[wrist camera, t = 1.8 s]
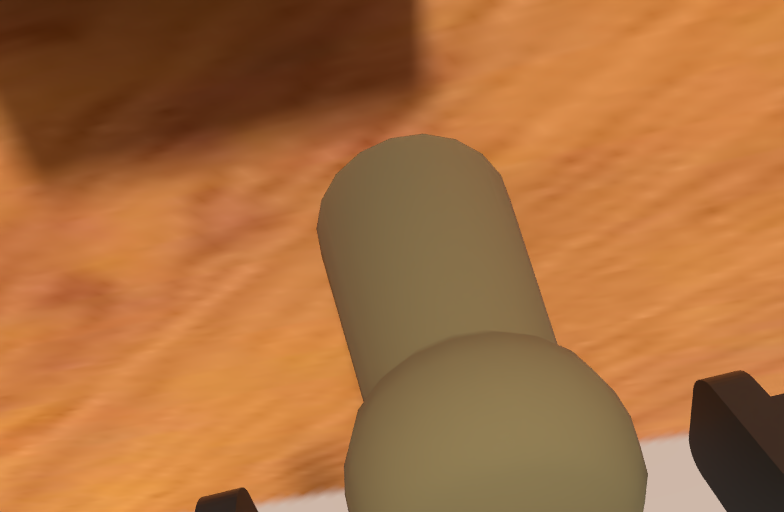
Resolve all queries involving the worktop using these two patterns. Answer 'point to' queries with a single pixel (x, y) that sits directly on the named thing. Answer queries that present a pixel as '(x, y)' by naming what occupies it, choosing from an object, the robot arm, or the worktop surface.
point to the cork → (461, 348)
